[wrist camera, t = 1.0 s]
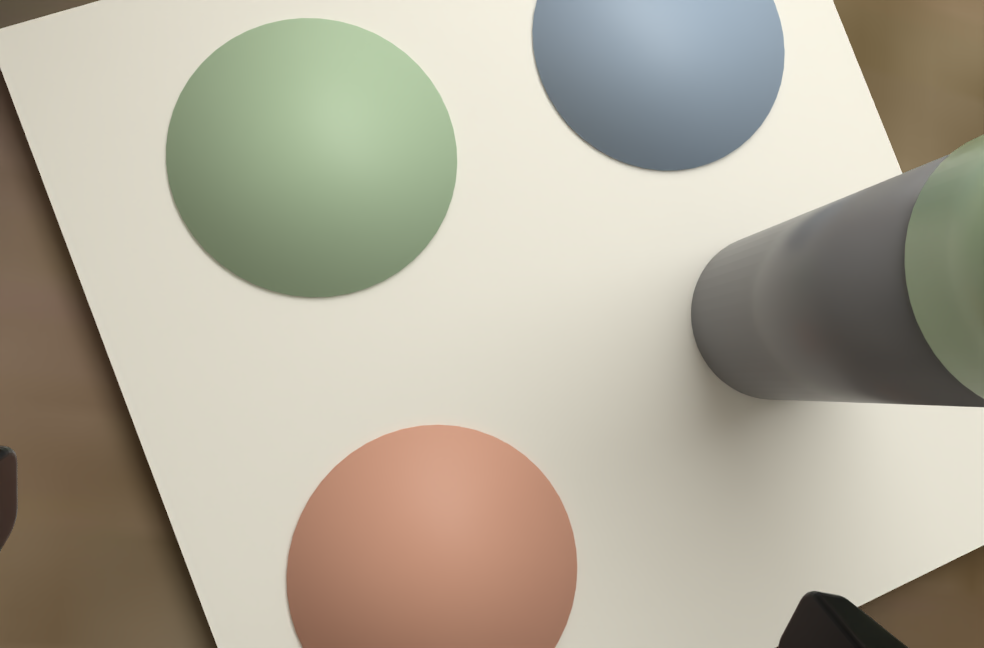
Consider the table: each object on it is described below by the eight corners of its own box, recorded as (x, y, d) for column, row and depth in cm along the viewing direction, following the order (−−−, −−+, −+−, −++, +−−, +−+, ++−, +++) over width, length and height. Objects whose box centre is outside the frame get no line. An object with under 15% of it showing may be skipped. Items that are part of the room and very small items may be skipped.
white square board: (1019, 512, 25) (1043, 517, 24) (307, 859, 21) (303, 880, 20) (746, -168, 25) (759, -188, 24) (2, 45, 21) (-15, 30, 20)
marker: (873, 365, 23) (1424, 343, 11) (726, 429, 22) (1144, 483, 10) (810, 209, 23) (1286, 13, 11) (662, 266, 23) (998, 122, 10)
